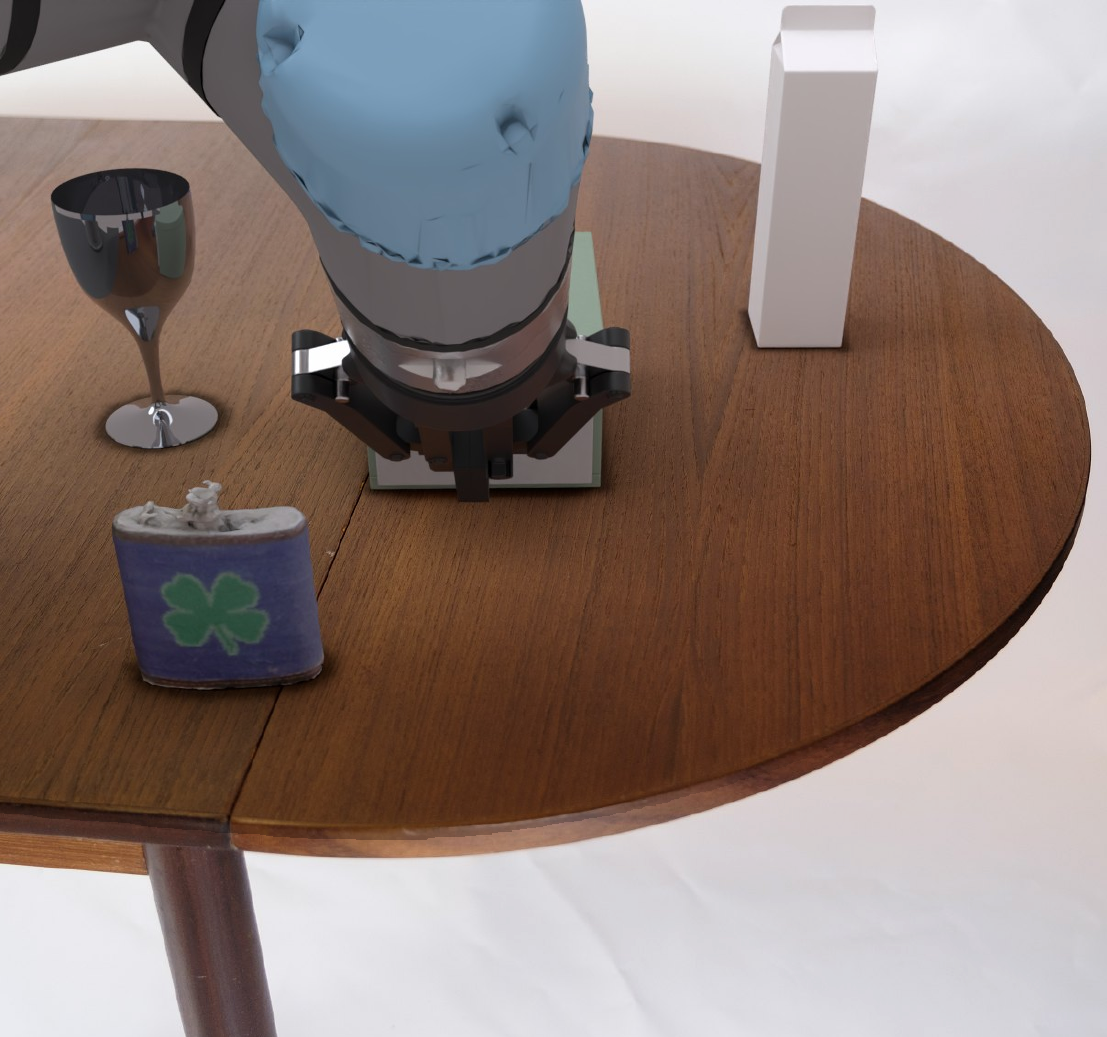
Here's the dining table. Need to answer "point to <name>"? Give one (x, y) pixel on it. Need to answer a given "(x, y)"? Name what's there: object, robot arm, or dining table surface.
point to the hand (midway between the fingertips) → (473, 474)
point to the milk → (812, 173)
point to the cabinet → (587, 322)
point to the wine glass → (136, 281)
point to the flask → (219, 593)
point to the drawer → (560, 469)
